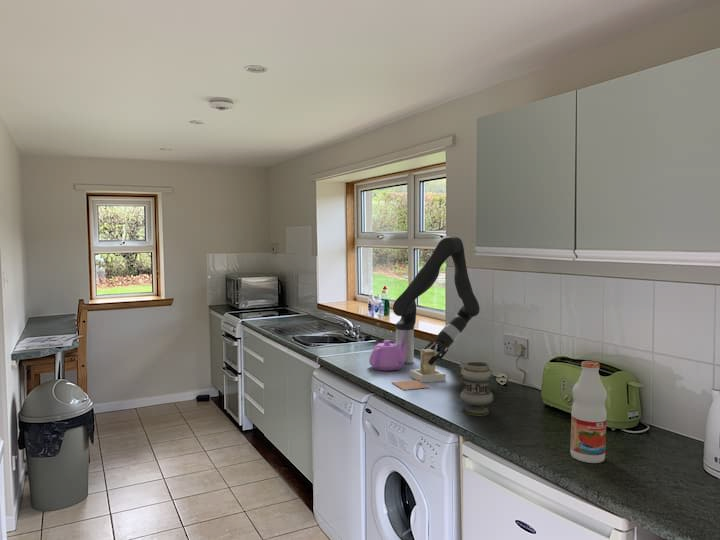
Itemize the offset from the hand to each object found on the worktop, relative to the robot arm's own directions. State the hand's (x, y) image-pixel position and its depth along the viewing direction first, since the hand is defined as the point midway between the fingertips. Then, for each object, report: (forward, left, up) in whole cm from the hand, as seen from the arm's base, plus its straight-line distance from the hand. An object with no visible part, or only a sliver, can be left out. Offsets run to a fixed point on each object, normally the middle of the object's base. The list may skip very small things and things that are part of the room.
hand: (425, 361), depth 246 cm
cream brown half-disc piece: (+18, +13, -8) cm, 24 cm away
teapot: (-22, -8, -8) cm, 25 cm away
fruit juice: (+96, +4, -8) cm, 96 cm away
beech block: (0, +1, -8) cm, 8 cm away
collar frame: (0, +1, -8) cm, 8 cm away
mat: (+9, -12, -8) cm, 17 cm away
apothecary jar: (+49, -4, -8) cm, 50 cm away
